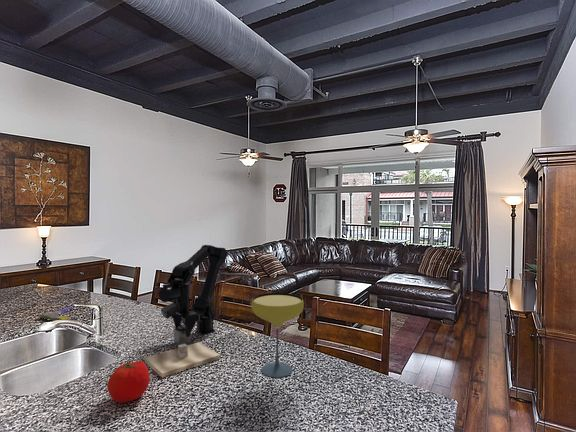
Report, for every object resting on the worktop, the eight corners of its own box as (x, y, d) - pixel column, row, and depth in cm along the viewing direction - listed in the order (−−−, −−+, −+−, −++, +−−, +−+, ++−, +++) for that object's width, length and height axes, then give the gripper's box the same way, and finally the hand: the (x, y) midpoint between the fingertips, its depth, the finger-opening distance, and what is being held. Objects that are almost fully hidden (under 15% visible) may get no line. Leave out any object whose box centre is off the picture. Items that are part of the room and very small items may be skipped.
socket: (185, 339, 148) (185, 323, 148) (190, 343, 144) (190, 326, 144) (174, 342, 145) (173, 325, 144) (179, 346, 141) (179, 329, 141)
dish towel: (104, 311, 188) (104, 306, 188) (59, 325, 166) (58, 319, 166) (82, 307, 196) (82, 302, 196) (36, 320, 173) (36, 314, 173)
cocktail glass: (292, 387, 110) (293, 309, 109) (241, 377, 116) (242, 303, 115) (309, 363, 127) (310, 295, 126) (264, 355, 133) (264, 290, 132)
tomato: (159, 390, 108) (159, 357, 107) (128, 413, 96) (128, 376, 96) (130, 384, 111) (130, 352, 111) (97, 405, 99) (96, 370, 99)
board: (199, 345, 142) (199, 332, 142) (220, 358, 130) (220, 344, 130) (144, 361, 127) (144, 346, 127) (162, 377, 115) (162, 361, 115)
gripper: (154, 295, 145) (154, 332, 146) (173, 304, 132) (173, 345, 132) (179, 290, 153) (179, 326, 153) (200, 299, 139) (200, 338, 140)
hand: (182, 333), depth 145 cm, fingers open, 9 cm apart
